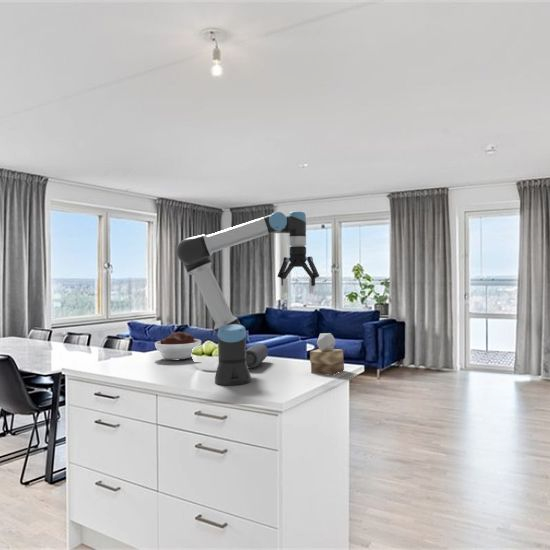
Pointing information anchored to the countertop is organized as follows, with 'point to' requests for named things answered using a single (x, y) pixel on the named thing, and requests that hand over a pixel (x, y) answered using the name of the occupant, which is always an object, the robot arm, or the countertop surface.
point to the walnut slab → (327, 368)
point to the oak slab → (326, 356)
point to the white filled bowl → (177, 346)
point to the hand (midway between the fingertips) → (298, 293)
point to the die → (326, 342)
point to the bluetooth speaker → (256, 355)
